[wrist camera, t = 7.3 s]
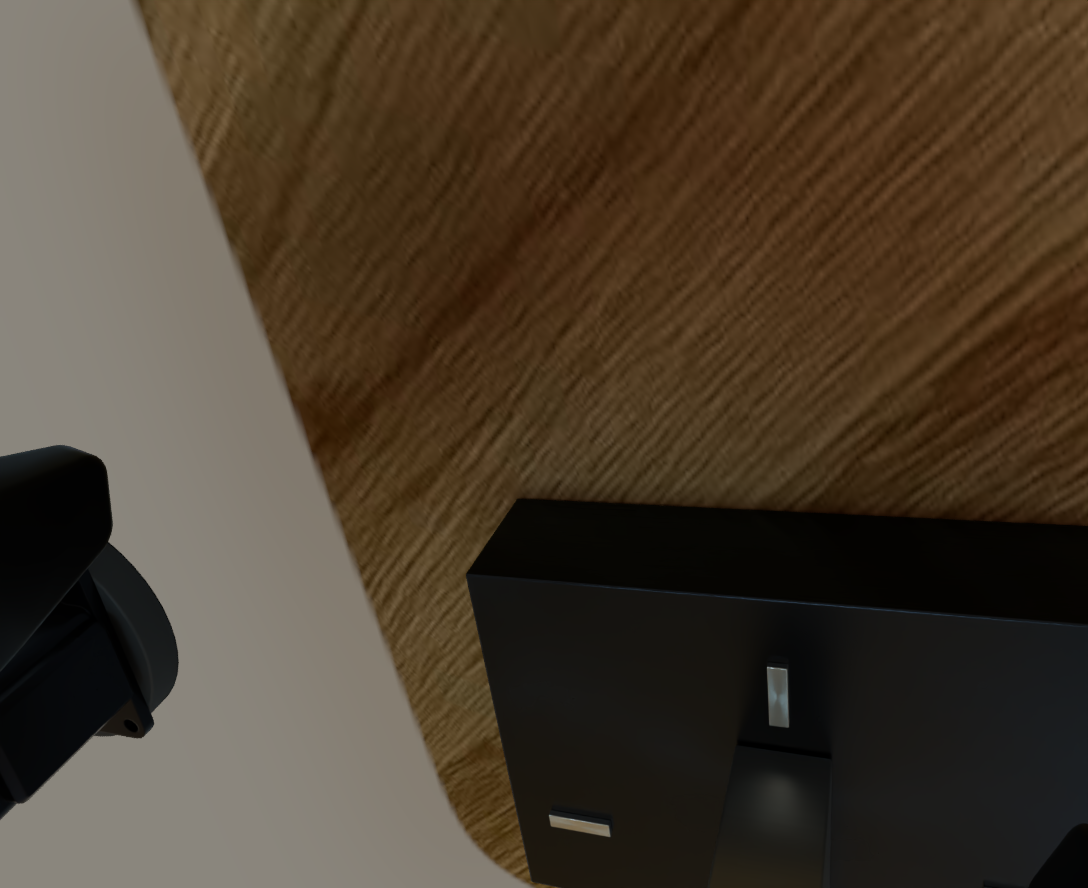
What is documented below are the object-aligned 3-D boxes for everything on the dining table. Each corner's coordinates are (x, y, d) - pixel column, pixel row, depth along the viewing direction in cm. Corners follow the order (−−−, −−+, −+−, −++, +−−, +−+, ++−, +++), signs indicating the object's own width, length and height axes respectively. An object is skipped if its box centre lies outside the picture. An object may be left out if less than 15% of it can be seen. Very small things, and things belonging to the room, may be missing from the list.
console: (579, 853, 25) (543, 957, 23) (516, 497, 20) (461, 578, 18) (1065, 946, 21) (1090, 1088, 19) (1137, 527, 16) (1185, 640, 14)
